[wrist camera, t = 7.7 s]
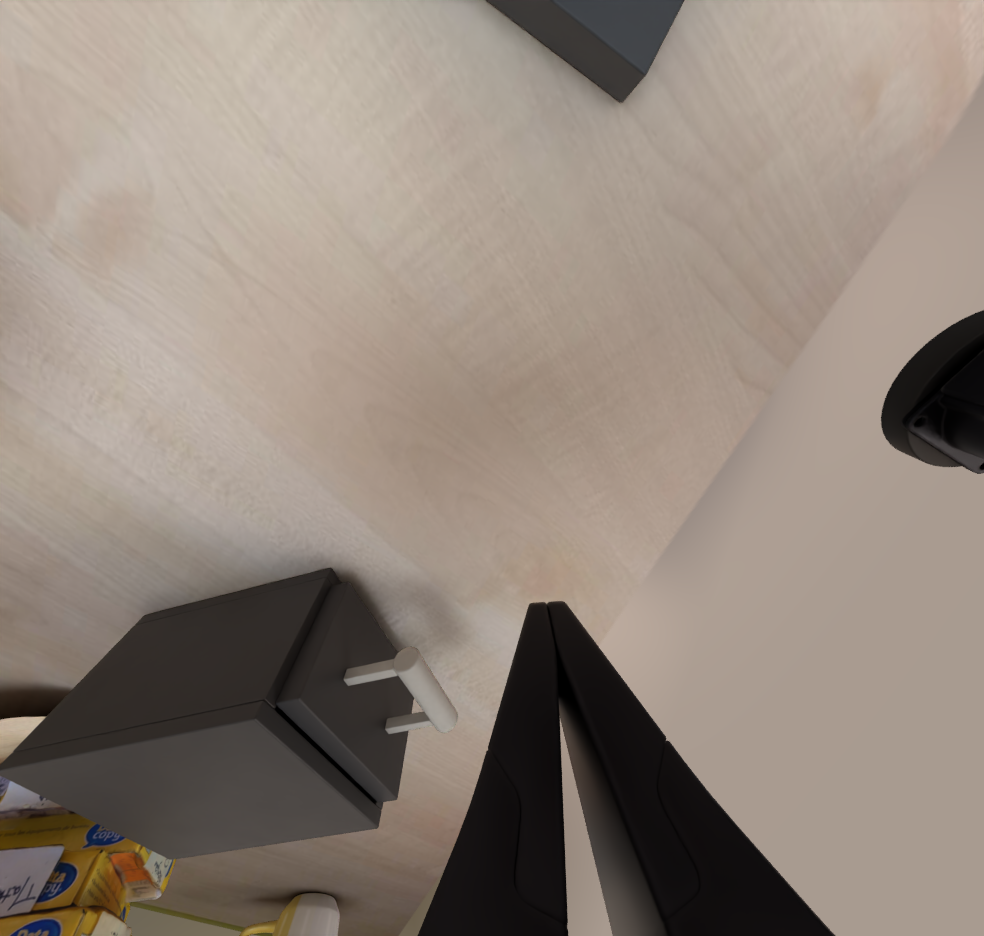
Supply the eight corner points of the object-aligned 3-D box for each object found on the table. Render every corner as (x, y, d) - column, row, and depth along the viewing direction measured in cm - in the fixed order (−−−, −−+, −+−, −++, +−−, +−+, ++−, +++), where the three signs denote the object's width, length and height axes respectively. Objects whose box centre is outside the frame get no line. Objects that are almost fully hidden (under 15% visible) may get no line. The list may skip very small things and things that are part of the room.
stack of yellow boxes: (267, 728, 31) (73, 1140, 17) (231, 837, 42) (94, 1146, 27) (-101, 653, 26) (-865, 1161, 11) (-34, 800, 37) (-381, 1158, 22)
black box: (331, 567, 23) (254, 719, 15) (407, 676, 28) (378, 828, 20) (144, 614, 24) (-9, 772, 17) (249, 709, 30) (170, 860, 22)
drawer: (415, 564, 21) (388, 680, 15) (472, 669, 26) (468, 788, 20) (170, 625, 24) (63, 747, 18) (264, 712, 28) (206, 831, 22)
